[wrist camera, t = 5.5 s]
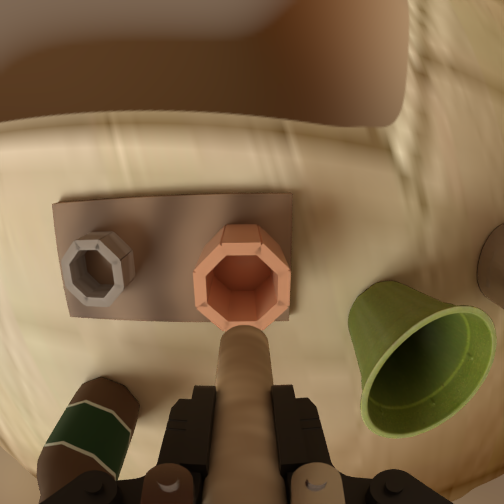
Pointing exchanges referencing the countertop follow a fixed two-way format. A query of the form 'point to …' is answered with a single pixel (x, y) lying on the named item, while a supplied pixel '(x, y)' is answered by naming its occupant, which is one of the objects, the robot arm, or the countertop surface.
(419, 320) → the plant pot
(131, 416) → the beer bottle
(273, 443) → the birch dowel
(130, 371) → the countertop surface
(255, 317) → the terracotta cup
